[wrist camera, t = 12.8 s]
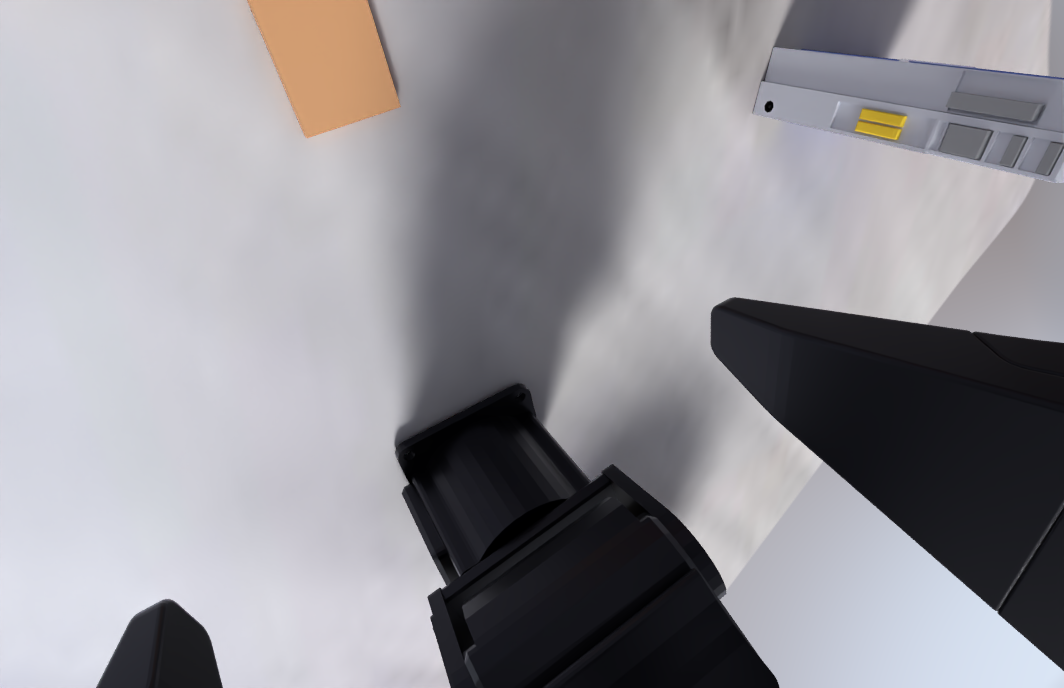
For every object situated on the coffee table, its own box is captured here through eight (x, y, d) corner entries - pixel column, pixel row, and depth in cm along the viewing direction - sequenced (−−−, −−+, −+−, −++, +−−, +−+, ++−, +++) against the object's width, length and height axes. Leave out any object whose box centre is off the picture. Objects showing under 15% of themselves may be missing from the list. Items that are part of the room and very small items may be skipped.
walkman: (880, 56, 28) (1217, 93, 19) (858, 117, 29) (1163, 178, 20) (769, 44, 24) (1122, 82, 15) (750, 114, 26) (1064, 187, 17)
